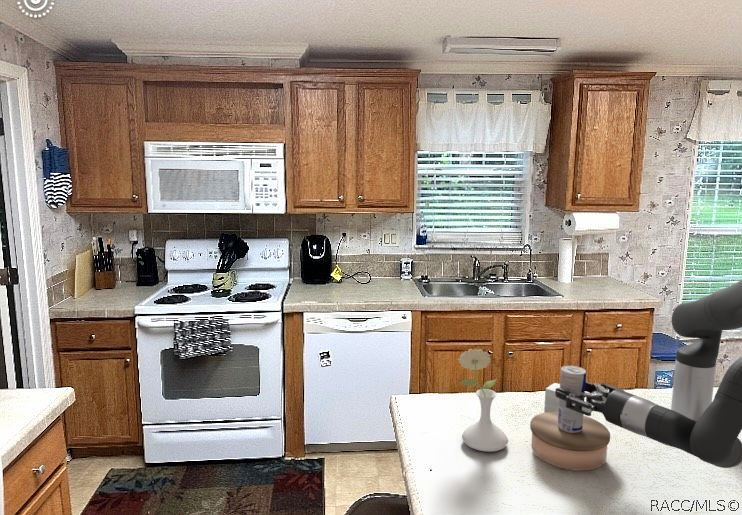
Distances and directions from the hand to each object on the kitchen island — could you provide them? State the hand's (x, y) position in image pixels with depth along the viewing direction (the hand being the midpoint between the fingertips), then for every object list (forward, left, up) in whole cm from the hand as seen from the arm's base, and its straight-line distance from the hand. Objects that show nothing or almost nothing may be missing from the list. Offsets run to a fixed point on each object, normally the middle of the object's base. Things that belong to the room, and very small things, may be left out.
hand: (567, 387), depth 127 cm
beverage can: (+1, +1, -10) cm, 10 cm away
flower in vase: (+5, -19, -17) cm, 26 cm away
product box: (-23, -6, -17) cm, 29 cm away
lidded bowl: (0, +1, -17) cm, 17 cm away
